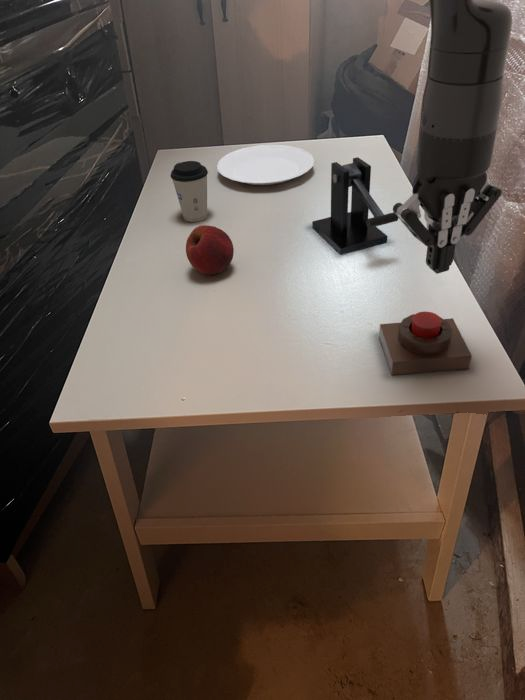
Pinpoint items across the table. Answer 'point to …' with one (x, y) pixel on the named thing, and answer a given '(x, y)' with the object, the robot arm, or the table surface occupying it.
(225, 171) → the plate
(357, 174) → the black lever
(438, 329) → the button
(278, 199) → the table surface
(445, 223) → the robot arm
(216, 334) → the table surface
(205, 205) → the coffee cup
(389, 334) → the control block
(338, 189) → the lever stand
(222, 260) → the apple
